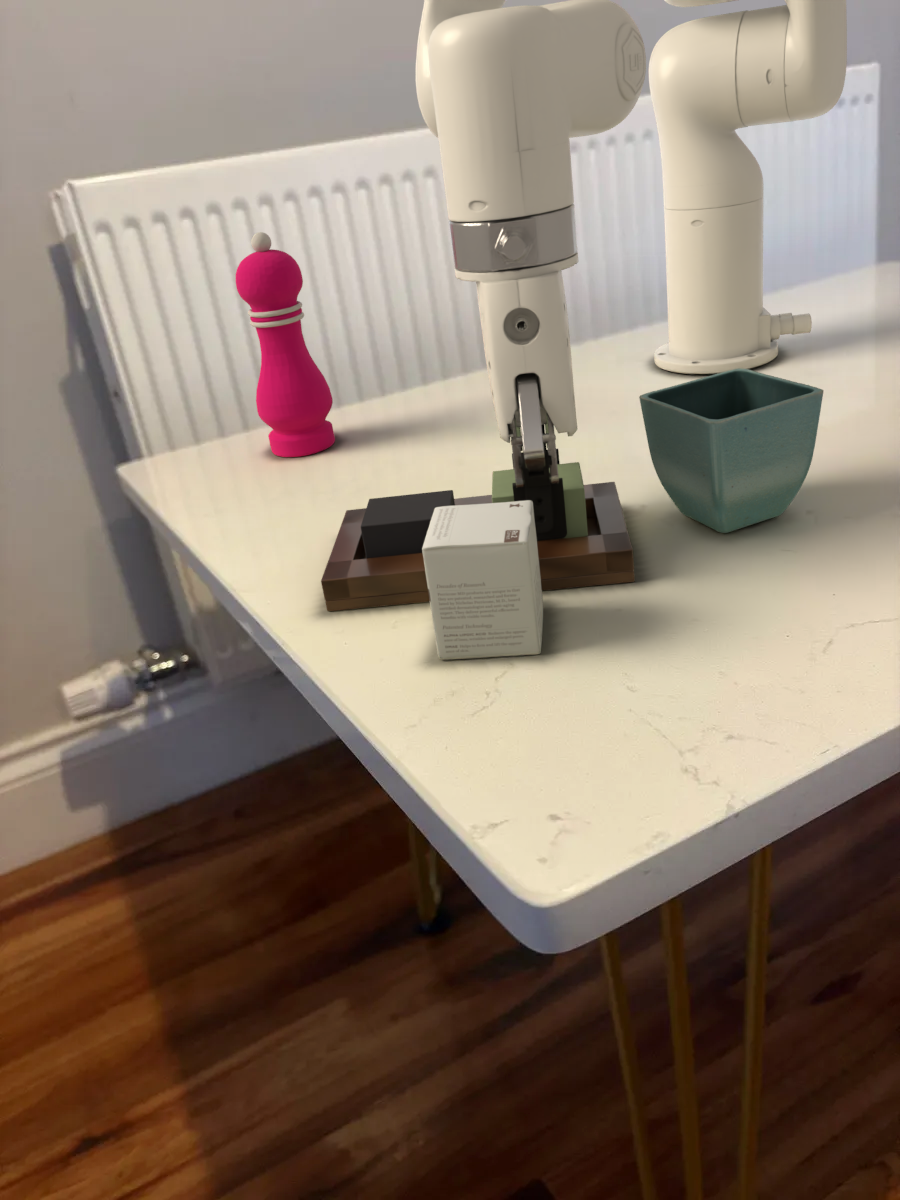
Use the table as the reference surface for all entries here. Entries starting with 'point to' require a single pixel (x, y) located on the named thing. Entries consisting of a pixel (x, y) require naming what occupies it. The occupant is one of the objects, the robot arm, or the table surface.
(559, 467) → the green rectangular block
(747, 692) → the table surface
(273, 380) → the pepper mill
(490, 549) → the product carton
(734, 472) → the flower pot
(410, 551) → the black block
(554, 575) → the wooden tray
